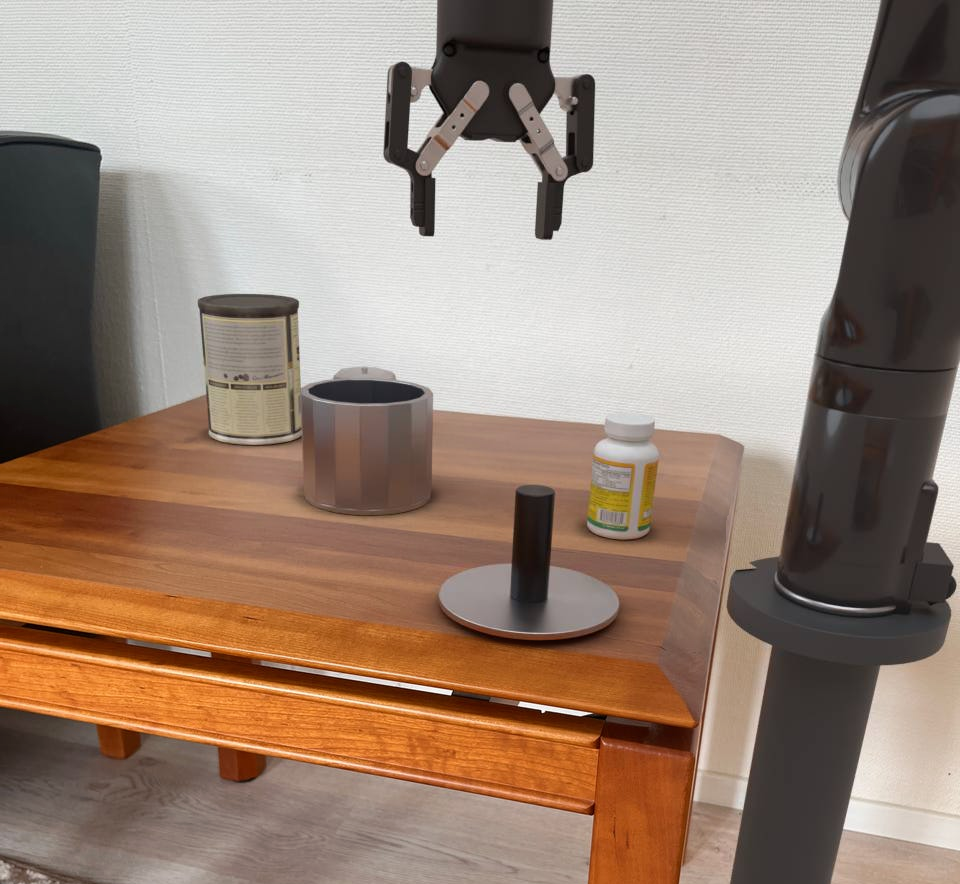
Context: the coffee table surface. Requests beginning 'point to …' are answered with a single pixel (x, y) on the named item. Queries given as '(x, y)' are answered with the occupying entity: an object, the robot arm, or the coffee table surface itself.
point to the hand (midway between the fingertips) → (486, 237)
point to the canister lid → (529, 584)
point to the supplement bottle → (623, 478)
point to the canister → (366, 445)
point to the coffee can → (251, 367)
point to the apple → (364, 373)
